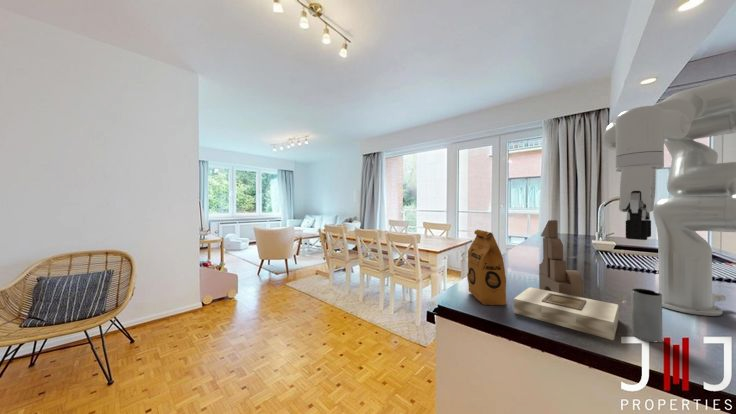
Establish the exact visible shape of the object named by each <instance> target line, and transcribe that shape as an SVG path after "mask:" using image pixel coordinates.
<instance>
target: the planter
mask: <svg viewBox="0 0 736 414" xmlns="http://www.w3.org/2000/svg"><path fill="white" fill-rule="evenodd" d="M631 322H632V323H631V325H632V332H631V333H632V335H633V336H634V337H636V338H637V337H638V338H637V339H640V338H641V339H640V340H642V339H643V340H642V341H646V342H651V343H653V342H652V341H657V342H660V343H662V342H663V337H664V336H663V307H662V294H661V293H659V291H655V290H651V289H646V288H632V289H631ZM661 341H662V342H661Z"/></svg>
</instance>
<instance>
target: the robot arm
mask: <svg viewBox="0 0 736 414" xmlns="http://www.w3.org/2000/svg"><path fill="white" fill-rule="evenodd" d="M605 128H606V129H605V130H604V132H603V143H604V145H605V147H607V148H608V149H609V150H612V151H615V172H616V173H617V172H620V178H619V179H620V180H619V200H618V201H619V202H618V203H619V205H618V210H619V211H620V212H621V213H626V220H625V238H626V239H627V240H638V241H646V240H648V238H651V237H652V220H651V215H650V214H651V212H652V214H653V219H654V222H655V223H654V224H655V225H656V226H655V227H656V231H657V232H656V233H657V247H658V249H657V250H658V253H657V254H658V292H659V293H661V294H662V308H664V309H668V310H672V311H677V312H681V313H685V314H691V315H698V316H707V317H708V316H709V317H718V316H722V315H723V309H722V308H721V307H719V306H718V305H715V303H716V302H725V301H727V297H726V296H725V295H724V294H721V293H713V250H712V249H713V248H712V247H711V245H710V244H709V242H708V241H707V240H706V239H705V238H704V237H702V236H701V235H700V234H698V232H716V233H717V232H719V233H720V232H722V233H736V161H731V162H729V161H728V162H720V163H718V157H719V155H718V152H717V151H716V150H714V149H713V148H712V147H711V146H708V145H706V144H704V143H701V142H699V141H696V140H698V139H704V138H705V139H706V138H710V137H717V136H724V135H731V134H735V133H736V78H727V79H726V78H725V79H722V80H719V81H716V82H712V83H708V84H704V85H699V86H696V87H692V88H689V89H684V90H680V91H679V92H675V93H674V94H671V95H670V96H668V97H666V98H665V99H663V100H662V101H660V102H657V103H655V104H653V105H645V106H644V105H643V106H639V107H634V108H630V109H628V110H625V111H622V112H621V113H620V114H618V115H617V116H616V119H615V120H614V121H612V122H610V123H609V125H607V127H605ZM665 147H666V149H667V151H668V153H669V154H670V156H671V157H670V158H671V162H670V163H671V164H670V168H669V172H668V173H669V174H668V179H667V183H666V189H667V191H668V193H669V194H670V195H671V196H672V197H666V198H662V199H660V200H658V201H657V202H656V203H655V199H656V181H657V180H656V177H657V176H656V170H660V169H664V168H665Z"/></svg>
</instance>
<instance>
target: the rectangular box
mask: <svg viewBox="0 0 736 414" xmlns="http://www.w3.org/2000/svg"><path fill="white" fill-rule="evenodd" d="M513 313H514V314H517V315H520V316H524V317H527V318H531V319H536V320H539V321H543V322H546V323H549V324H553V325H557V326H561V327H564V328H566V329H567V328H568V329H570V330H573V331H574V330H575V331H579V332H582V333H585V334H590V335H593V336H596V337H597V336H598V337H600V338H604V339H608V340H610V341H615V337H616V332H617V328H618V323H619V321H620V320H619V304H616V303H611V302H606V301H601V300H595V299H593V298H592V299H591V298H586V297H583V298H582V297H577V296H572V295H567V294H562V293H557V292H552V291H547V290H542V289H539V288H537V287H536V288H535V287H531V286H530V287H527V288H526V289H525V290H523V291H522V292H521V293H519V294H518V295H516V296H515V297H514V298H513Z"/></svg>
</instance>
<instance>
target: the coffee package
mask: <svg viewBox="0 0 736 414" xmlns="http://www.w3.org/2000/svg"><path fill="white" fill-rule="evenodd" d="M474 235H476V236H475V238H474V240H473V241H472V243H471V245H470V246H469V248H468V250H467V274H466V276H467V284H468V292H469V293H470V294H471V295H473V297H474V298H475V299H476V300H477V301H478V302H480V303H481V304H482V305H483V306H486V305H490V306H506V305H507V277H506V276H507V275H506V270H505V262H504V258H503V254H502V252H501V250H500V247H499V244H498V243H497V241H496V238H495V236H494V234H493V232H489V231H488V230H487V231H486V230H482V229H476V230H475V231H474Z"/></svg>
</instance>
